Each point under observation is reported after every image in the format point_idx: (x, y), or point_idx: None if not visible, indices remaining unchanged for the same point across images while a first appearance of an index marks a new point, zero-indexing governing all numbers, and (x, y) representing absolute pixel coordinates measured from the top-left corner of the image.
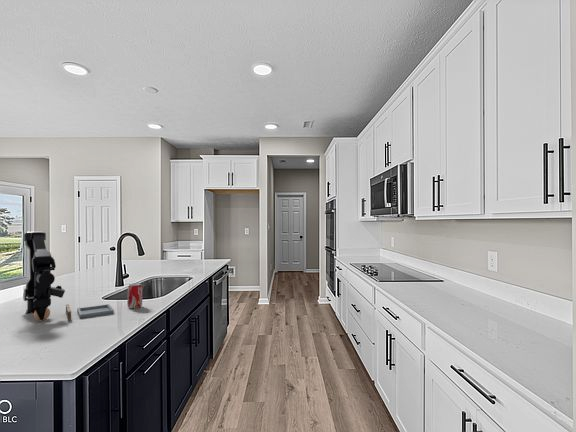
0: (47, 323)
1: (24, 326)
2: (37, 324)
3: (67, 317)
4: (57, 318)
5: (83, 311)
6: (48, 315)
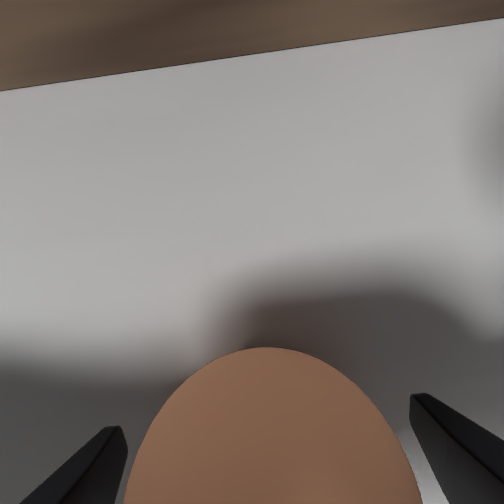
0: (487, 309)
1: None
2: (453, 406)
3: (459, 5)
4: (258, 209)
5: None
6: (326, 366)
